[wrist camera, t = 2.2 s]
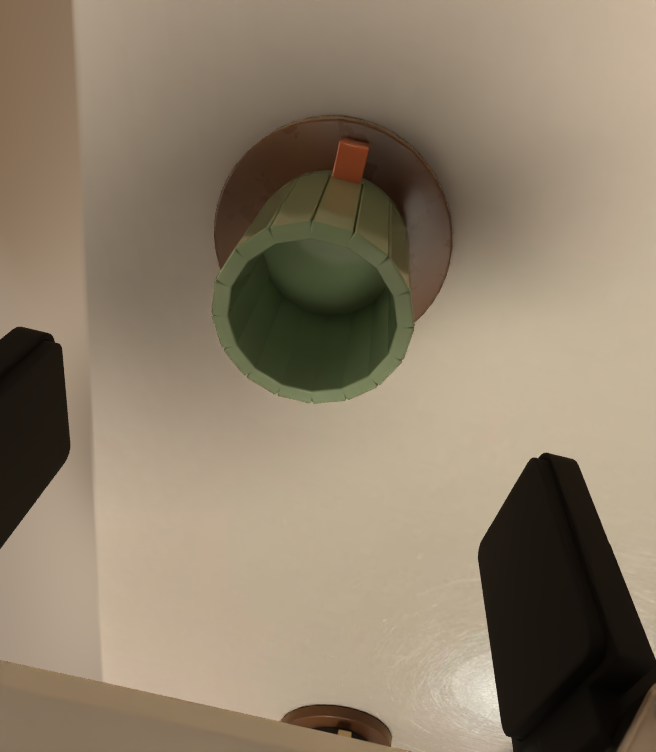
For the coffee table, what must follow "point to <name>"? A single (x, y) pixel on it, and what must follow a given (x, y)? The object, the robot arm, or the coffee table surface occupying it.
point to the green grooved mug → (319, 286)
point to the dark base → (341, 722)
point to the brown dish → (383, 168)
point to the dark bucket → (341, 732)
